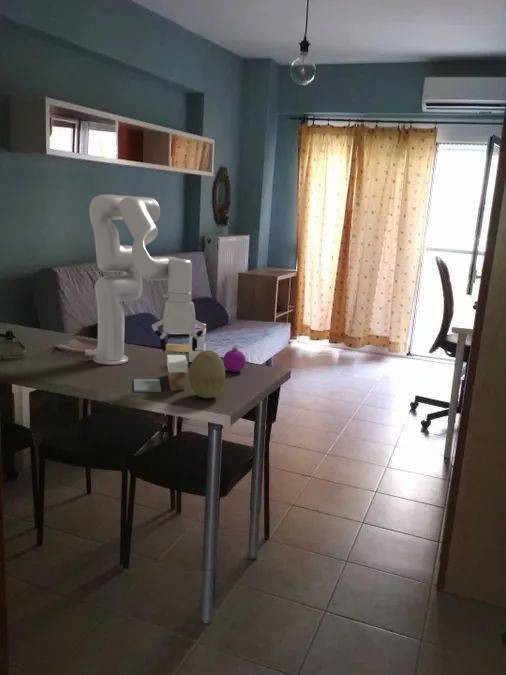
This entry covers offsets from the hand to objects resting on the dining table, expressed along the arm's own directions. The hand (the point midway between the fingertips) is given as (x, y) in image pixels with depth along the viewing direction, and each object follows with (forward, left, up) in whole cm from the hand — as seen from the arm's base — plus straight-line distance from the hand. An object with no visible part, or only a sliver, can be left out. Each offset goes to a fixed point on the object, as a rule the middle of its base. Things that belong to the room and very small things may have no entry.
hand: (178, 350), depth 192 cm
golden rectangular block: (+1, +9, -7) cm, 11 cm away
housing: (0, +4, -12) cm, 12 cm away
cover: (0, 0, -6) cm, 6 cm away
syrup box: (+10, +32, -12) cm, 35 cm away
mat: (-10, 0, -12) cm, 15 cm away
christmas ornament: (+22, +18, -12) cm, 30 cm away
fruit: (+8, -12, -12) cm, 19 cm away
